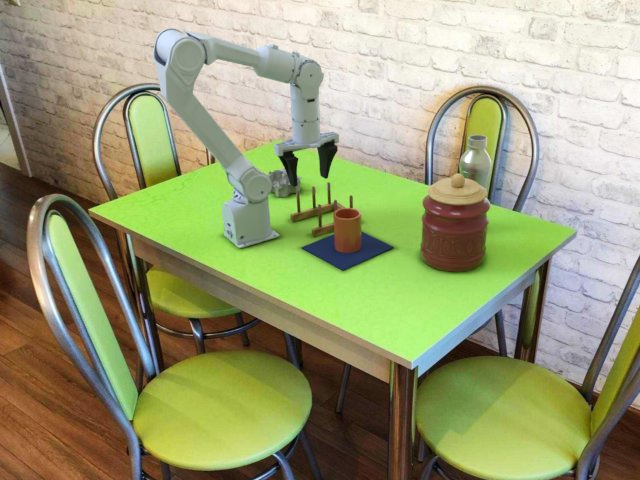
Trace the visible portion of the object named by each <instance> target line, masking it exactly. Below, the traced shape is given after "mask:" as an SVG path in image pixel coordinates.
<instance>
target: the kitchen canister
mask: <svg viewBox="0 0 640 480" xmlns="http://www.w3.org/2000/svg"><path fill="white" fill-rule="evenodd" d="M426 192H427V195H425V197H424V198H422V207H423V209H424V212H423V213H422V215H421V222H422V224H421V225H422V226H421V243H420V254H421V255H420V256H421V258H422V261H423V262H424V263H426V264H427V265H428V266H430V267H431V268H434V269H436V270H440V271H445V272H466V271H470V270H473V269H476V268H477V267H479V266H481V264H483V262H484V259H485V257H486V253H487V252H486V251H487V246H486V245H487V244H486V243H487V234H488V226H489V223H490V219H489V217H488V212H489V211H490V209H491V201H490V200H489V199H488V198H487V197H488V191H487V188H486V189H485V188H484V187H482V186H481V185H479V184H478V183H477V182H475V181H473V180H470V179H466V178H464V176H463V175H462V174H460V173H454V174H453V175H452V176H451V177H446V178H442V179H439V180H437V181H436V182H433V184H431V185H429V187H428V188H427V191H426Z"/></svg>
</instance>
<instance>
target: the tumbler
mask: <svg viewBox="0 0 640 480" xmlns="http://www.w3.org/2000/svg"><path fill="white" fill-rule="evenodd" d="M332 215H333V217H332V218H333V222H334V231H333V234H334V245H335V249H336V250H337V251H339V252H342V253H353V252H356V251H358V250H360V249H361V244H362V242H361V231H362V212H361V211H360V210H359V209H357V208H354V207H353V208H350V207H345V208H342V209H338V210H336V211H335V212H334V211H333V213H332Z"/></svg>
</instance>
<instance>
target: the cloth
mask: <svg viewBox="0 0 640 480" xmlns="http://www.w3.org/2000/svg"><path fill="white" fill-rule="evenodd" d="M361 242H362V244H361V249H360V250H358V251H356V252H353V253H342V252H339V251H337V250H336V249H335V245H334V233H333V234H330V235H328V236H325V237H323V238H321V239H318V240H316V241H313V242H311V243H308V244H305V245H303V246H301V249H302V250H304V251H306V252H307V253H309V254H311V255H312V256H315V257H317V258H318V259H319V260H322V261H324V262H326V263H328V264H329V265H331V266H333V267H335V268H337V269H339V270H340V271H342V272H344V271H346V270H349V269H351V268H353V267H355V266H357V265H360V264H362V263H364V262H367V261H368V260H370V259H373V258H376V257H377V256H380V255H381V254H384V253H386V252H389V251H391V250H393V249H394V248H395V246H394V245H391V244H389V243H387V242H385V241H383V240H381V239H378V238H376V237H375V236H372V235H370V234H368V233H366V232H363V231H362V230H361Z"/></svg>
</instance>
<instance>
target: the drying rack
mask: <svg viewBox="0 0 640 480" xmlns="http://www.w3.org/2000/svg"><path fill="white" fill-rule="evenodd" d="M326 190H327V191H326V192H327V203H326V204H317V203H316V202H317V200H316V199H317V198H316V187H315V186H314V185H313V186H311V197H312V198H311V199H312V200H311V201H312V207H311V208H308V209H304V210H301V199H300V198H301V195H300V194H301V193H300V192H299V191H298V190H297V191H296V193H295V194H296V196H295V197H296V212H294V213H290V215H289V218H290V221H291V222H296V221H301V220H304V219H308V218H312V217H314V216H317V218H318V219H317V220H318V226H317V227H314V228H311V229H310V230H311V236H312V237H314V238H315V237H318V236H321V235H324V234H327V233H332V232H334V221H333V222H330V223H327V224H324V225H323V217H322V216H323V215H322V214H324V213H328V212H331V211H333V213H334V212H335V211H336V210H338V209H342V208H346V207H345V206H344V205H342V204H341V203H339V202H338V200H337V199H333V201H332V200H331V199H332V197H331V196H332V194H331V192H332V191H331V182H329V181H327V183H326ZM348 198H349V199H348V200H349V208H353V209H354V197H353V195H352V194H351V195H349V197H348Z"/></svg>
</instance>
